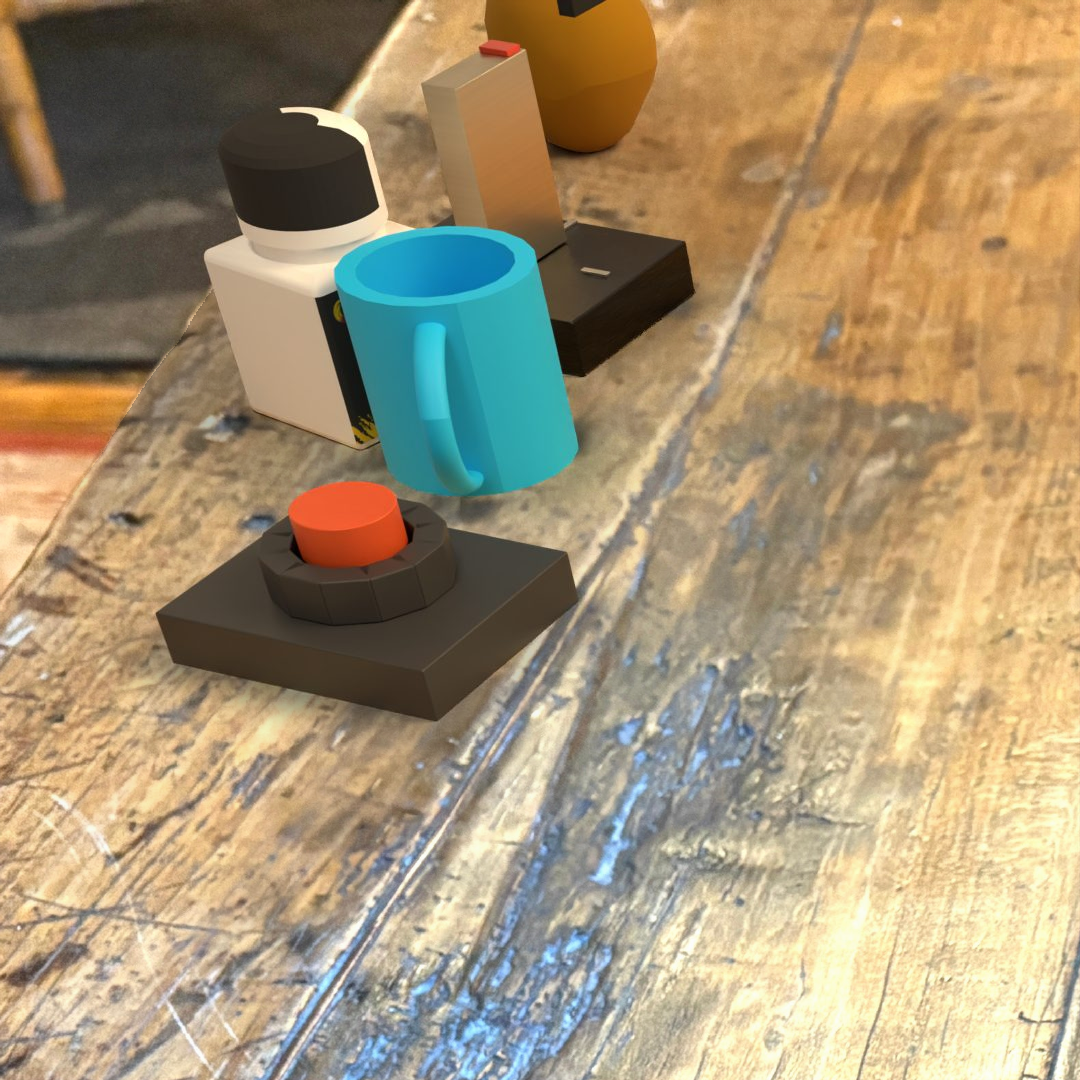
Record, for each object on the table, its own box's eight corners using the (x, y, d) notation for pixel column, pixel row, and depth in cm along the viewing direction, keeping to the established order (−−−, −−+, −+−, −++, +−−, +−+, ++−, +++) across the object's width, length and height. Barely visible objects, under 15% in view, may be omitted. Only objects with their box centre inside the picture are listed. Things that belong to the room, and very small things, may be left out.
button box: (172, 664, 103) (138, 568, 100) (327, 549, 110) (299, 456, 107) (437, 723, 101) (409, 627, 98) (580, 601, 107) (557, 508, 104)
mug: (399, 416, 118) (347, 229, 112) (586, 408, 119) (545, 222, 113) (362, 545, 110) (305, 351, 104) (564, 535, 111) (518, 342, 105)
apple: (708, 134, 142) (676, -47, 136) (590, 183, 137) (551, -3, 131) (595, 99, 145) (559, -80, 139) (476, 145, 140) (433, -38, 134)
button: (279, 561, 102) (265, 518, 100) (342, 515, 104) (329, 473, 103) (368, 580, 101) (355, 537, 100) (429, 533, 104) (417, 491, 102)
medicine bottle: (361, 454, 116) (279, 169, 107) (248, 412, 118) (159, 130, 109) (482, 395, 120) (413, 115, 111) (371, 356, 122) (295, 80, 114)
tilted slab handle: (501, 284, 122) (453, 83, 116) (468, 278, 123) (418, 77, 116) (567, 240, 126) (524, 43, 119) (535, 234, 126) (490, 37, 120)
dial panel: (360, 334, 124) (344, 277, 122) (481, 254, 131) (468, 199, 129) (584, 377, 121) (571, 319, 120) (696, 293, 128) (685, 237, 126)
